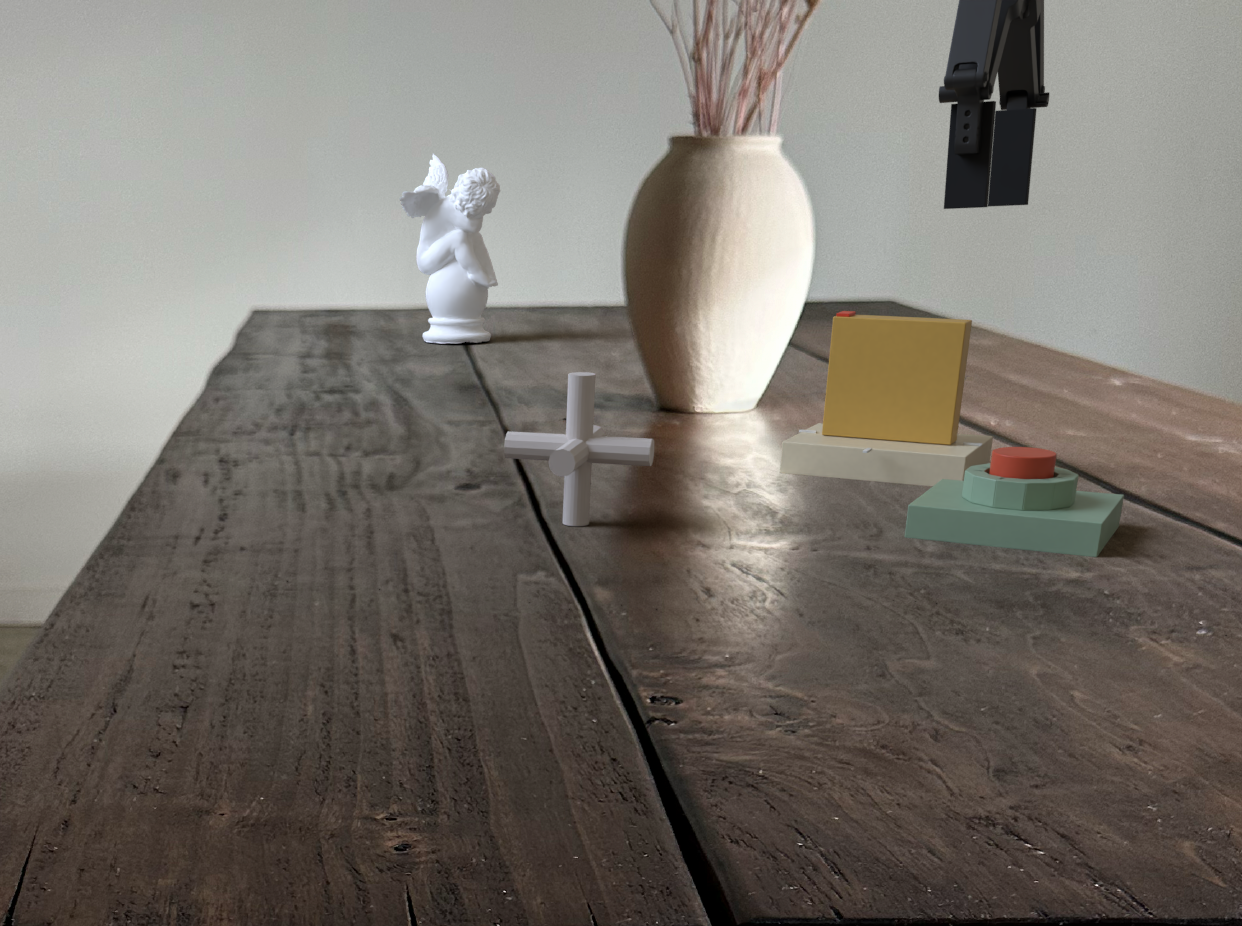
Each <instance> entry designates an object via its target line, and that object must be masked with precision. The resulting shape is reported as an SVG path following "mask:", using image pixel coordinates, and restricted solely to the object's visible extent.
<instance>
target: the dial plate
mask: <svg viewBox="0 0 1242 926" xmlns="http://www.w3.org/2000/svg"><path fill="white" fill-rule="evenodd" d="M822 428H823V422H818V423H815V424H814V425H812V426H810V427H808V428H806V429H798V433H796V434H795V435H793V436H790V437H789V438H787V439H785V440H783V441H782V442H781V451H780V452H781V453H780V464H779V474H782V475H783V474H784V475H795V476H807V477H818V478H828V479H838V478H840V479H839V480H850V481H851V480H852V481H862V482H872V483H873V482H874V483H885V484H895V485H905V486H906V485H907V486H919V487H930V488H931V487H933V486H934V485H935V484H937V483H938V482H939V481H940V480H942V479H948V480H960V481H964V475H965V470H967V469H968V468H969V467H970V466H974V465H981V464H988V463H991V456H992V448H993V440H994V436H993V435H983V434H972V433H971V434H970V433H958V434H957V440H956V441H955V442H954V443H952V444H951V445H944V444H931V443H918V442H905V441H892V440H880V439H867V438H854V437H841V436H828V435H822Z"/></svg>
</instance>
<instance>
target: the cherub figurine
mask: <svg viewBox="0 0 1242 926" xmlns="http://www.w3.org/2000/svg"><path fill="white" fill-rule="evenodd" d="M431 157H432V159H430V160H429V165H430V166H429V168H428V173H427V175H426V176H425V179H424V181H423V183H422V184H421V185H418V186H417V187H415V188H414V190H413V191H407V190H405V191H402V192H401V196H400V197H399V202H400V205H401V209H403V211H404V212H405V213H406V216H407V217H411V219H415V218H421V217H423V219H422V222H421V227H420V233H419V241H418V245H417V247H416V255H415V256H416V257H415V258H416V265H417V269H418V271H420V272H421V273H422V274H423V275H426V276H429V277H428V279H427V284H426V287H425V301H426V306H427V308H428V311H429V313H430V315H431V316H432V317H429V318H428V319H427V322H428V324H429V325H430V327H429V329H428V330H426V331H424V332H423V333H422V339H423V341H424V342H426V343H429V344H430V343H431V344H442V345H443V344H444V345H446V344H450V345H451V344H462V343H465V342H466V343H470V344H471V343H473V344H474V343H476V344H478V343H482V342H485V343H486V342H489V341H490V340H491V336H492V334H491V332H490V331H487V330H485V329H484V324H485V323H486V319H485V317H483V313H484V311H485V309H486V307H487V304H488V298H489V289H490V288H492V287H498V286H499V282H498V279H497V277H496V273H495V270H494V266H493V263H492V262H493V261H492V259H491V256H490V253H489V251H488V249H487V247H486V244H485V241H484V238H483V235H482V234H481V233H480V231H481V230H482V228H483V221H484V216H485V215H489V214H491V213H492V212H493V209H494V208H495V207H496V205H497V201H498V198H499V195H500V193H501V185H500V184H499V183H498V181H497V179H496V176H495V175H494V174H493V173H492V172H491V171H489V170H488V169H487V168H485V167H475V168H473V169H467V170H466V172H465V173H460V174H459V175H458V176H457V180H456V182H455V183H454V186H453V188H452V189H449V188H448V185H449V173H448V170H447V166H445V163H443V162H442V161H441V159H440V158H439V157H438V156H437V155H436V154H435V153H434V152H433V153H432V156H431ZM448 190H449V191H451V192H450V194H448V195H446V193H447V191H448Z"/></svg>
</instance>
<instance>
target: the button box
mask: <svg viewBox="0 0 1242 926" xmlns="http://www.w3.org/2000/svg"><path fill="white" fill-rule="evenodd" d="M990 465H991V462H990V463H988V464H981V465H974V466H970V467H969V468H968V469H967V470H965V475H964V481H960V480H948V479H942V480H940V481H939V482H938V483H937V484H935V485H934V486H933V487H930V488H929V489H927V490H926V491H925V492H924V493H922V494H921V495H920V496H918V497H917V498H915V499H914V500H913V501H912V502H910V503H909V504H908V506H907V513H906V523H905V530H904V538H905V539H915V540H925V541H934V542H944V543H954V544H964V545H973V546H981V547H994V548H1002V549H1013V550H1022V551H1031V552H1039V553H1051V554H1061V555H1070V556H1080V557H1089V558H1097V557H1099V555H1100V553H1101V552H1102V551H1103V549H1104V548H1105V547H1106V545H1107V544H1108V542H1109V541H1110V540H1111V538H1112V537H1113V536H1114V534H1115V533H1116V531H1117V530H1118V529H1119V528H1120V522H1121V517H1122V511H1123V505H1124V499H1125V494H1120V493H1109V492H1108V493H1107V492H1096V491H1086V490H1085V491H1084V490H1077V487H1078V483H1079V474H1078V473H1076V472H1074V471H1071V470H1069V469H1068V468H1062V467H1057V466H1055V469H1054V476H1053V478H1048V479H1016V478H1005V477H1000V476H995V475H990V474H989V472H990Z"/></svg>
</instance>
